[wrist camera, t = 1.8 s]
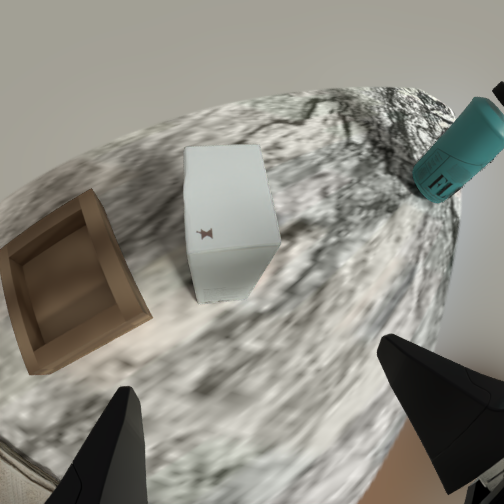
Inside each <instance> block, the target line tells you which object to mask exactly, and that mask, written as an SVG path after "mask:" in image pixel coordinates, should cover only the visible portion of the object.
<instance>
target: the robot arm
mask: <svg viewBox="0 0 504 504" xmlns="http://www.w3.org/2000/svg"><path fill="white" fill-rule="evenodd" d="M377 357H378V359H379V361H380V363H381V366H382V368H383V370H384V372H385V375H386V377H387V379H388V381H389V384H390V386H391V388H392V389H393V391H394V393H395V395H396V397H397V398H398V400H399V402H400V404H401V405H402V407H403V409H404V411H405V413H406V414H407V416H408V418H409V420H410V422H411V423H412V425H413V427H414V429H415V431H416V433H417V435H418V436H419V438H420V440H421V442H422V444H423V446H424V448H425V450H426V452H427V454H428V456H429V458H430V460H431V462H432V464H433V466H434V468H435V470H436V472H437V474H438V476H439V478H440V480H441V482H442V484H443V486H444V489H445V491H446V493H447V494H448V495H449V494H451V493H453V492H454V491H456V490H458V489H460V488H461V487H463V486H464V485H466V484H468V483H469V482H471V481H472V480H474V479H475V478H477V477H478V478H477V479H476V480H475V481H474V482H473V483H472V484H471V485H470V486H469V487H468V490H467V495H466V499H465V503H464V504H504V381H501V380H497V379H495V378H492V377H489V376H486V375H483V374H480V373H478V372H476V371H473V370H471V369H469V368H466V367H464V366H462V365H460V364H458V363H455V362H453V361H451V360H449V359H447V358H444V357H442V356H440V355H438V354H436V353H433V352H431V351H429V350H427V349H425V348H423V347H420V346H418V345H416V344H414V343H412V342H410V341H407V340H405V339H403V338H401V337H399V336H397V335H395V334H387V335H385V336H383V337H382V338H381V341H380V344H379V346H378V349H377ZM44 504H148V501H147V487H146V467H145V441H144V433H143V424H142V414H141V405H140V401H139V399H138V397H137V395H136V393H135V392H134V390H133V388H132V387H131V386H121V387H119V388H118V390H117V391H116V393H115V394H114V396H113V397H112V399H111V400H110V402H109V403H108V405H107V407H106V408H105V410H104V411H103V413H102V414H101V416H100V418H99V419H98V421H97V422H96V424H95V426H94V427H93V429H92V430H91V432H90V434H89V435H88V437H87V439H86V440H85V442H84V443H83V445H82V447H81V448H80V450H79V452H78V453H77V455H76V457H75V458H74V460H73V463H71V465H70V467H69V468H68V470H67V472H66V473H65V475H64V476H63V478H62V480H61V481H60V483H59V484H58V485H57V487H56V488H55V490H54V491H53V492H52V494H51V495H50V496H49V498H48V499H47V500H46V502H45V503H44Z"/></svg>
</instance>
